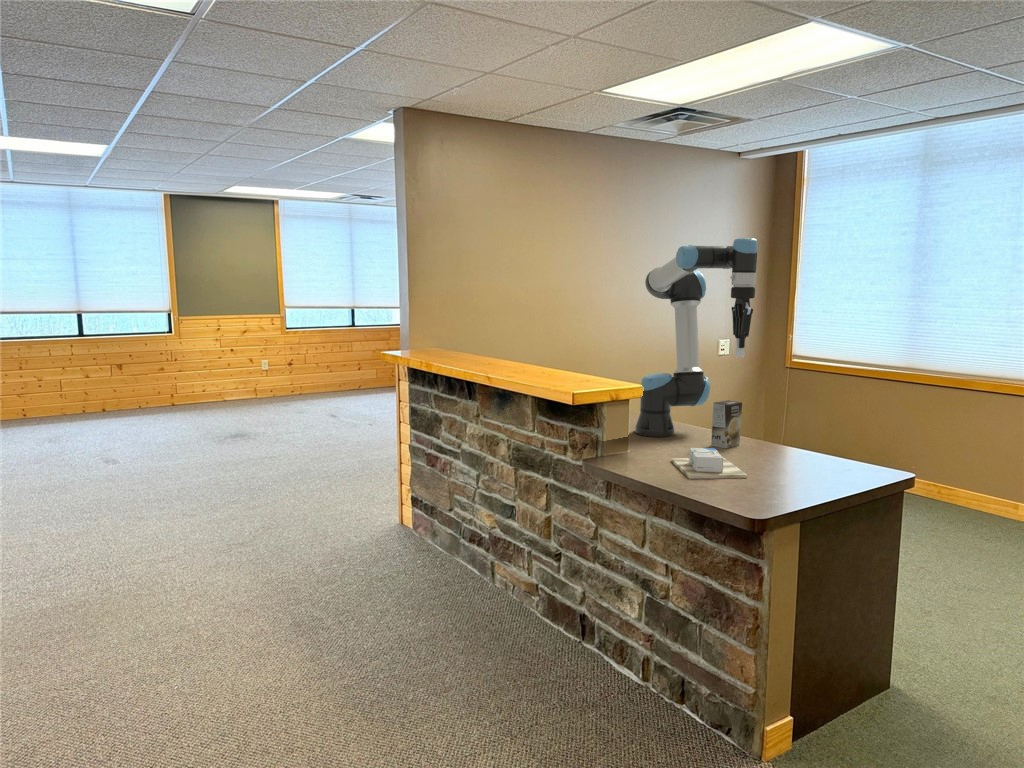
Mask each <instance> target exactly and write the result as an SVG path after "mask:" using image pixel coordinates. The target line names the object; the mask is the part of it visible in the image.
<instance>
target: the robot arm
mask: <svg viewBox="0 0 1024 768" xmlns="http://www.w3.org/2000/svg"><path fill="white" fill-rule="evenodd" d="M758 250H759V249H758V240H757V238H753V237H752V238H749V237H745V238H741V237H740V238H735V239H734V240H733V243H732V245H692V244H690V245H682V246H679V248H678V249H677V251H676V255H675V257H674V258H673V259H671V260H669V261H667V263H665V264H663V265H662V266H659V267H654V268H653V269H652V270H651V271H649V272H648V274H647V275H646V278H645V281H644V282H645V283H644V285H645V288H646V290H647V292H648V293H649V294H650V295H651V296H653V297H654V298H657V299H661V300H670V306H672V307H673V309H674V321H675V323H674V324H675V325H674V326H675V327H674V328H675V351H676V352H675V353H676V354H675V355H676V369H675V370H674V371H672V373H673V375H672V374H671V373H668V372H658V373H650V374H648V375H645V376H643V377H642V379H641V381H640V382H641V383H640V386H641V385H642V386H643V387H644V391H643V396H642V397H641V396H640V404H639V405H640V407H639V409H640V413H639V416H638V418H637V421H636V424H635V428H634V433H635V434H637V435H640V436H645V437H651V438H652V437H655V438H658V437H659V438H664V437H665V438H666V437H671V436H673V435H675V426H674V422H673V419H672V416H671V409H672V407H696V406H702V405H704V404H705V403H706V402H707V401H708V399H709V395H710V393H711V392H710V391H711V383H710V379H709V377H708V376H706V375H705V374H704V373H705V371H704V370H703V369H702V368H700V356H699V355H700V354H699V353H700V352H699V350H700V349H699V328H698V326H699V324H698V323H699V322H698V306H699V305H700V304H701V302H702V299H704V297H705V295H706V292H707V283H706V280H705V276H704V274H703V273H702V272H701V271H700V270H699V269H724V270H729V269H731V276H730V280H731V285H732V287H731V288H730V298H731V299H735V301H734V305H733V306H732V307H731V315H732V316H731V317H732V336H734V338H735V343H734V345H735V346H734V347H735V348H734V358H736V359H744V358H745V352H746V338H749V335H750V328H751V323H752V322H751V321H752V315H753V312H754V308H753V307H752V308H751V303H750V302H751V301H750V300H751V299H754V298H756V296H755V295H756V288H755V286H756V283H757V262H758V261H757V260H758Z"/></svg>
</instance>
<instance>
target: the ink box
mask: <svg viewBox="0 0 1024 768" xmlns="http://www.w3.org/2000/svg"><path fill="white" fill-rule="evenodd" d="M688 455H689V457H688V458H689V462H690V463H691V465H692V467H693V468H694V470H695V471H697V472H719V473H720V472H723V458H724V457H723V456H722V454H720V453H719V451H718V450H717V449H716V448H715V447H714V448H710V447H689V454H688Z"/></svg>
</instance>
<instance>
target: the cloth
mask: <svg viewBox="0 0 1024 768" xmlns="http://www.w3.org/2000/svg"><path fill="white" fill-rule="evenodd" d="M670 459H671V461H670V462H671V463H672V464H674V466H675V467H676V468H678V470H680V471H681V473H683V475H685V476H686V477H687V478H688V479H691V480H692V479H693V480H695V479H697V480H699V479H700V480H701V479H747V478H748V475H747V473H745V472H744V471H743V470H741V469H740V468H739V467H737V466H736V465H734V464H733V462H731V461H729V460H728V459H726V458H725V457H723V472H720V473H719V472H697V471H695V470H694V468H693V467H692V465H691V463H690V462H689V457H683V458H681V457H679V458H670Z"/></svg>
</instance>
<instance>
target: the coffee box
mask: <svg viewBox="0 0 1024 768" xmlns="http://www.w3.org/2000/svg"><path fill="white" fill-rule="evenodd" d="M742 410H743V402H741V401H735V400H721V401H714V402H713V406H712V421H711V422H712V425H711V443H710V444H711V446H712V447H717V448H722V449H728V448H733V447H738V446H740V443H741V429H742V428H741V426H742V413H743V411H742Z"/></svg>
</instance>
